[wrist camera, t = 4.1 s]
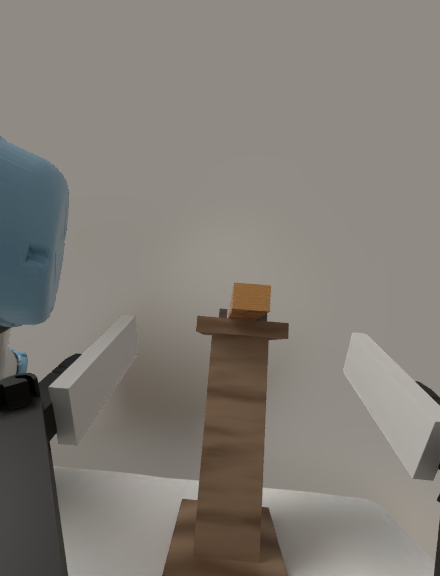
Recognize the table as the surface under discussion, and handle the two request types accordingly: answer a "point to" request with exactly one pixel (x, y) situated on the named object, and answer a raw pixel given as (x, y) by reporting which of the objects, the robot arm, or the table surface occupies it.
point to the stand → (231, 461)
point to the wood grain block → (249, 301)
